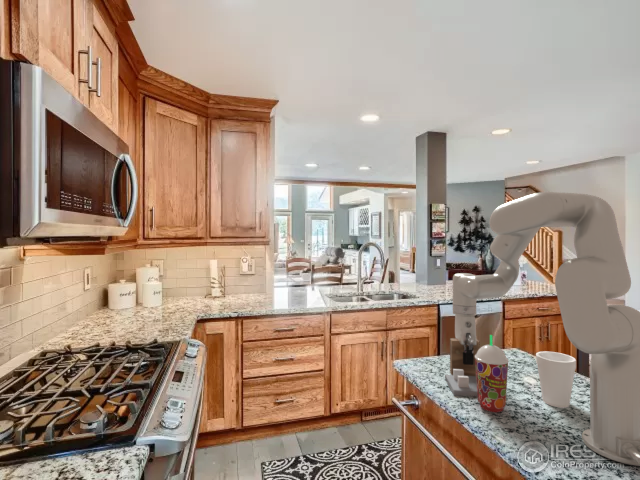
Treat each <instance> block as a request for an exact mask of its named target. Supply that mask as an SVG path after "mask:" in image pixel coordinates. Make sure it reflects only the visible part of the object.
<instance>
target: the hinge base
mask: <svg viewBox="0 0 640 480" xmlns="http://www.w3.org/2000/svg"><path fill="white" fill-rule="evenodd" d="M444 380H445V382H446V384H447V386H448V387H449V389H450V392H451V393H452V395H453V396H461V397H477V398H478V394H477V379H476V376H464V370H463V369H453V375H451V374H444Z"/></svg>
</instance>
